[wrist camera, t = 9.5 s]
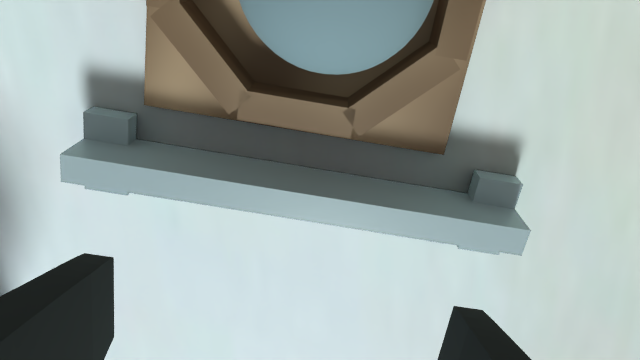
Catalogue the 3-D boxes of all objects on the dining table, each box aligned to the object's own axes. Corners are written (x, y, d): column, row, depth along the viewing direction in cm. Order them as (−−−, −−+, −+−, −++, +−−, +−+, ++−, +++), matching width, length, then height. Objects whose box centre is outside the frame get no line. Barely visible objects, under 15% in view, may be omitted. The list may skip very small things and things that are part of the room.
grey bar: (94, 180, 20) (61, 208, 18) (93, 106, 19) (58, 125, 16) (492, 244, 20) (512, 279, 18) (515, 176, 19) (540, 204, 17)
